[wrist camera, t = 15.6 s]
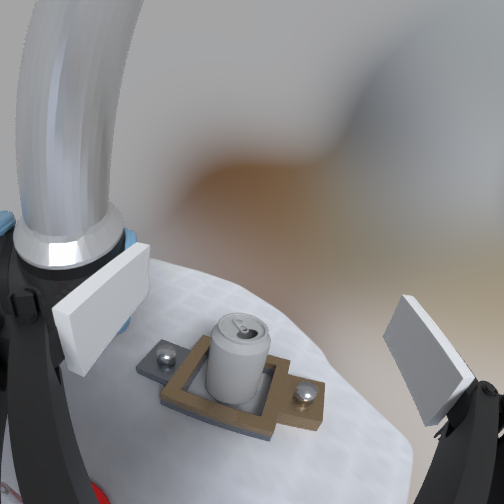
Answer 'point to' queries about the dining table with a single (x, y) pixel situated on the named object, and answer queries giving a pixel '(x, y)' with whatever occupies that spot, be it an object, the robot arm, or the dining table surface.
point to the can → (237, 357)
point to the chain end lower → (167, 363)
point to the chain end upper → (276, 406)
